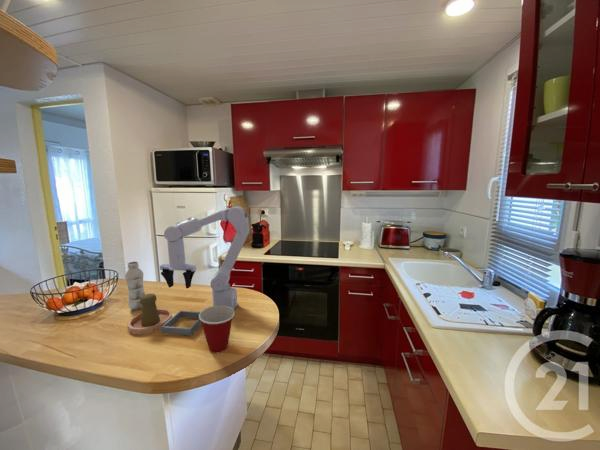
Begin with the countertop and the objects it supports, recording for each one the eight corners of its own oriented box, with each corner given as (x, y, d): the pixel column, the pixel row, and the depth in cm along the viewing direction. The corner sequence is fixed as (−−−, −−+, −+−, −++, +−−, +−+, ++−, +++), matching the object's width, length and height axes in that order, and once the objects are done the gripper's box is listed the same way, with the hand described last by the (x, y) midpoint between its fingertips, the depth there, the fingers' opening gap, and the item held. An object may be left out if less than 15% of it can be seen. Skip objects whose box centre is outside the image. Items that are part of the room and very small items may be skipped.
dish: (179, 314, 97) (179, 309, 96) (154, 335, 83) (154, 330, 82) (148, 312, 98) (147, 307, 98) (118, 332, 84) (117, 327, 84)
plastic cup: (237, 354, 73) (235, 318, 71) (199, 362, 70) (196, 324, 68) (236, 334, 84) (234, 302, 82) (203, 339, 81) (200, 306, 79)
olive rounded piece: (150, 328, 86) (147, 299, 85) (137, 325, 88) (133, 297, 86) (163, 319, 92) (161, 292, 90) (151, 317, 94) (148, 290, 92)
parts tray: (207, 318, 94) (206, 312, 93) (191, 335, 83) (190, 329, 82) (180, 316, 95) (180, 310, 95) (161, 333, 84) (160, 327, 84)
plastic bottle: (127, 313, 98) (121, 266, 94) (130, 306, 103) (124, 261, 100) (146, 309, 100) (141, 264, 97) (147, 302, 106) (143, 259, 103)
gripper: (153, 257, 93) (156, 290, 95) (187, 258, 91) (190, 292, 93) (165, 252, 100) (168, 283, 102) (197, 253, 98) (200, 284, 100)
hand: (179, 286), depth 98 cm, fingers open, 7 cm apart
